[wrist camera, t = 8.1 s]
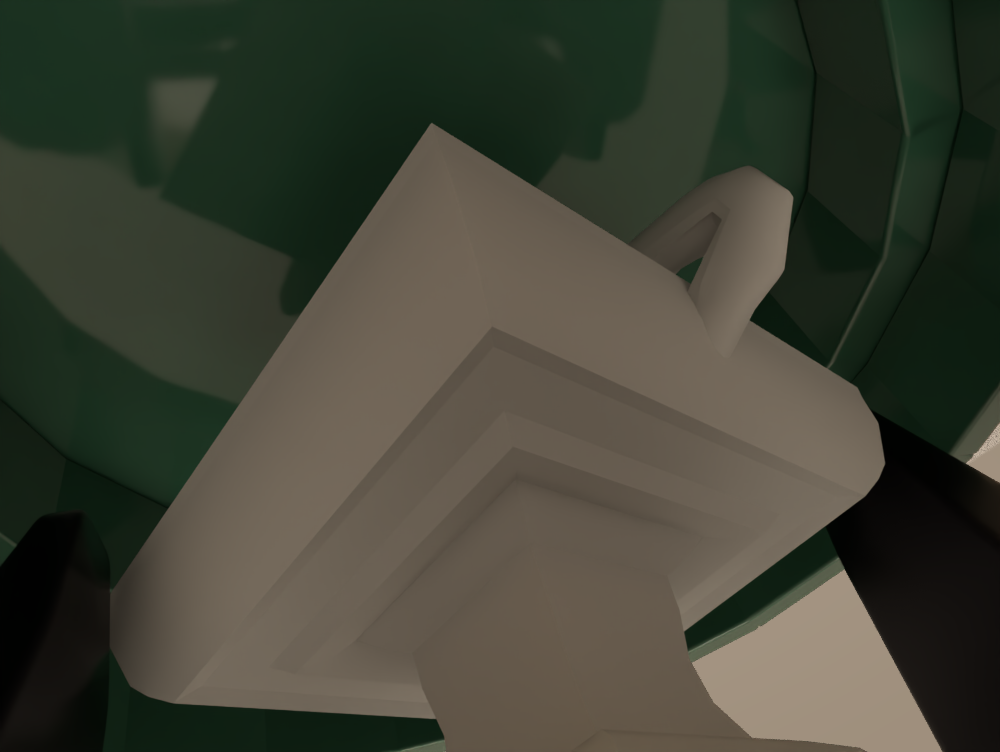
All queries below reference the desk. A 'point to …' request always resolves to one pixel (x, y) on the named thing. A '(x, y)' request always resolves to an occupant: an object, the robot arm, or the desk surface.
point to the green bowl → (508, 142)
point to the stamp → (504, 474)
